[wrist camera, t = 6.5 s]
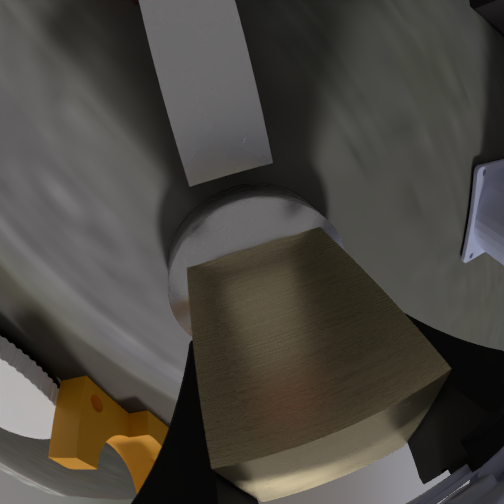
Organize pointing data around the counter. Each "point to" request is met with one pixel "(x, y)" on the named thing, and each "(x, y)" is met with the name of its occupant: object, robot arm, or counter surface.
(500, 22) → the phone stand
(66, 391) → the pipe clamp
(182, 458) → the robot arm
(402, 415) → the tan rectangular block
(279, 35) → the counter surface
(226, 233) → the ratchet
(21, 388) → the plastic lid
